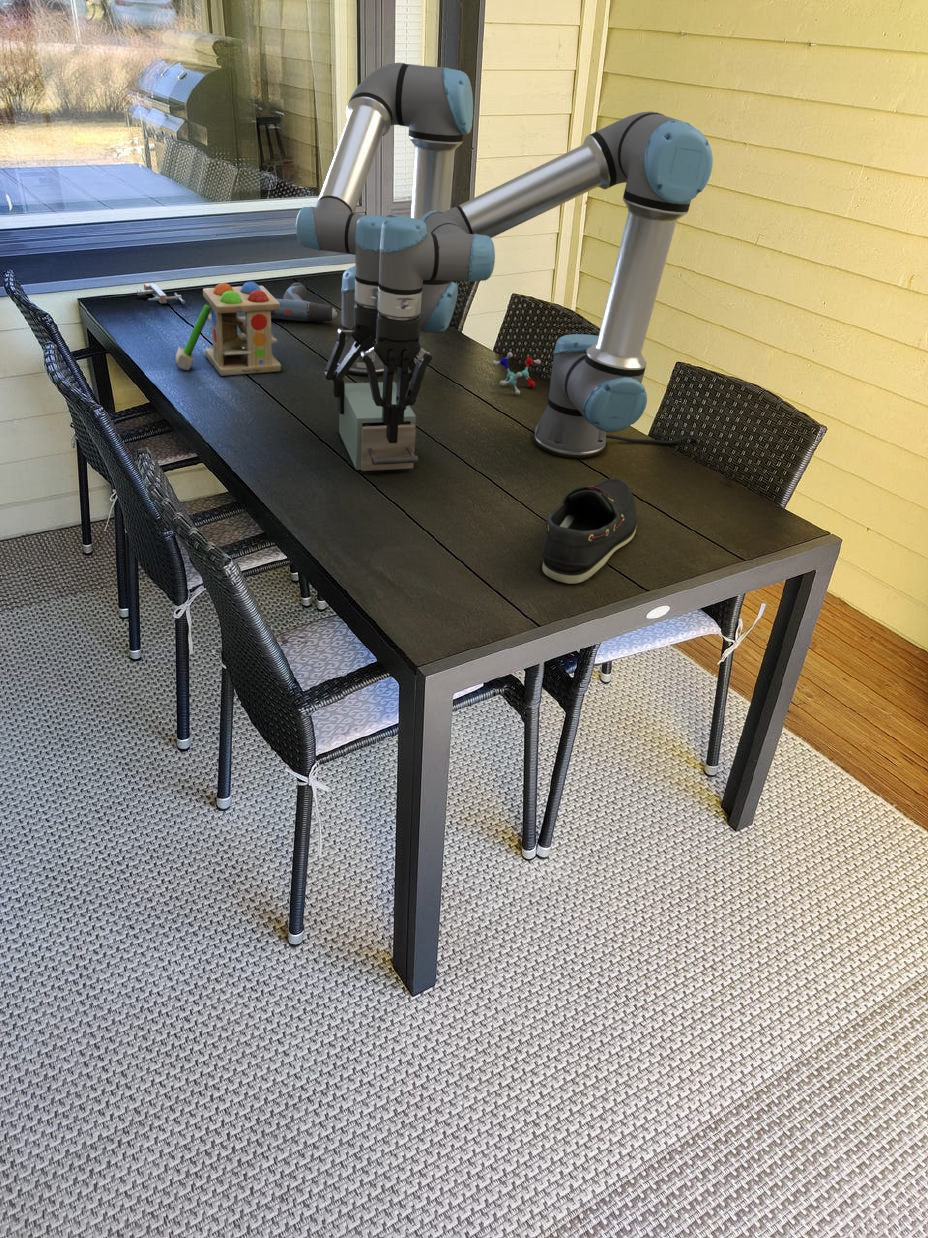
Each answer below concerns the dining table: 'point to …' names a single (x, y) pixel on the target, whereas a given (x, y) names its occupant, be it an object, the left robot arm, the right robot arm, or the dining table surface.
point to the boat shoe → (588, 530)
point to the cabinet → (362, 416)
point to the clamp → (158, 294)
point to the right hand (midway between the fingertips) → (391, 439)
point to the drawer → (387, 447)
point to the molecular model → (511, 375)
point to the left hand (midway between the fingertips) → (370, 410)
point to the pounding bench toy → (229, 347)
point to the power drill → (301, 307)
